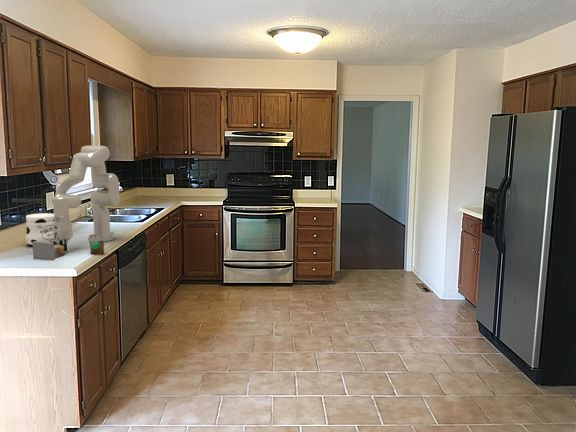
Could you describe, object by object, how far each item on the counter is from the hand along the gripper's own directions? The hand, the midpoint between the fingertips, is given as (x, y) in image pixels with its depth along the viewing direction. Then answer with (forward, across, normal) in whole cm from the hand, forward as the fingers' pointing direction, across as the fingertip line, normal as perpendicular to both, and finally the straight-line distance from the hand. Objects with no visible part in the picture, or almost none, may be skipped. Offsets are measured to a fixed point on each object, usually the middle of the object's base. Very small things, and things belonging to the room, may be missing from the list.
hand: (63, 251), depth 266 cm
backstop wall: (+1, -15, 0) cm, 15 cm away
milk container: (+1, +13, +27) cm, 30 cm away
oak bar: (+1, -8, 0) cm, 8 cm away
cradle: (+1, -9, 0) cm, 9 cm away
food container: (+1, +4, -17) cm, 18 cm away
